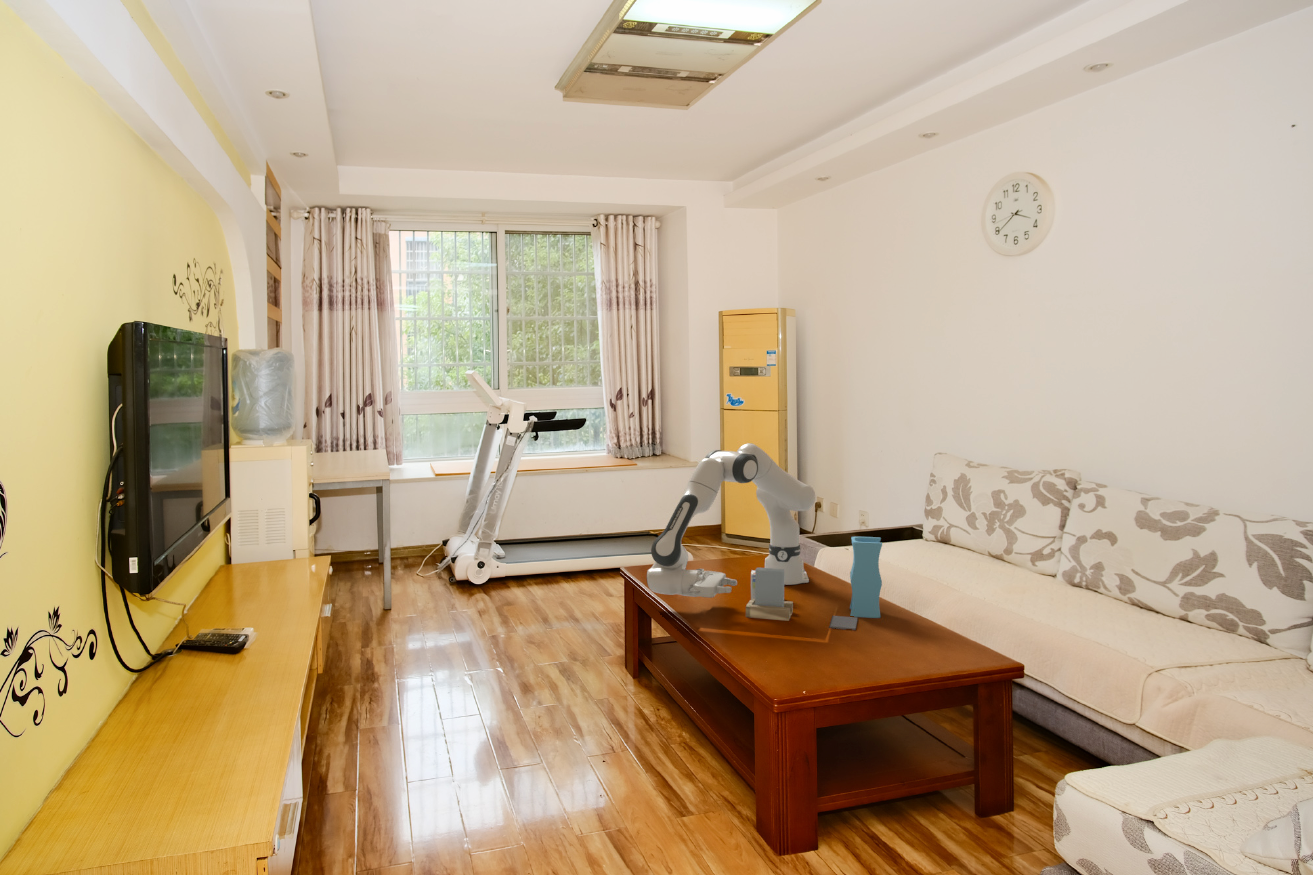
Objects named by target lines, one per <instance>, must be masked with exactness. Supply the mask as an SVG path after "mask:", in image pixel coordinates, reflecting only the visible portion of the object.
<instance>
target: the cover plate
mask: <svg viewBox="0 0 1313 875" xmlns="http://www.w3.org/2000/svg"><path fill="white" fill-rule="evenodd" d="M754 571H755V605H761V606H774V607H784V601H785V585H784V569H772V568H765V567H756V568H755V570H754Z"/></svg>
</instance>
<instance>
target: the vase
mask: <svg viewBox="0 0 1313 875" xmlns="http://www.w3.org/2000/svg"><path fill="white" fill-rule="evenodd" d="M881 540H882V538H881V537H873V536H851V544H852V551H853V552H852V553H853V554H852V556H853V558H852V559H853V560H852V565H851V570H850V574H849V577H850V578H849V579H850V586H851V600H850V605H849V610H850V616H854V617H856V618H869V619H880V618H881V610H880V594H881V590H882V586H883V582H882V577H881V576H882V575H881V572H880V568H879V566H880V565H879V564H880V563H879V560H880V555H881V550H882V547H883V542H881ZM850 616H849V617H850Z"/></svg>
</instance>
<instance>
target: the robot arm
mask: <svg viewBox="0 0 1313 875" xmlns="http://www.w3.org/2000/svg"><path fill="white" fill-rule="evenodd" d="M723 482H727V483H729V482H730V483H739V484H748V483H751V482H752V484H754V485H755V486H756V492H755V494H756V498H757V501H758V502H759V503H760V504H761V505H762V507H763V508H764V511H765V512H766V514H767V518H768V522H769V533H770V534H769V535H770V536H769V537H770V539H769V540H770V541H769V542H770V543H769V546H768V556H766V557H765V559H764V568H772V569H784V586H785V585H790V586H791V585H799V584H805V583H806V584H807V583H809V582H810V581H809V580H810V579H809V577H808V574H807V571H806V570H805V568H804V560H803V558H802V557H801V545H800V524H799V523H798V521H797V520H796V519H795V518H794V517H793V515H792V513H791V511H794V512H805V511H809V510H810V509H812V507H813V506H815V505H814V504H815V503H816V493H815V490H814V488H813V487H812V486H811V485H808V484H806V483H804V482H802V481H801V480H799V479H797V478H796V477H795V476H793V475H791V474H790V473H789V472H787V471H785V470H784V469H783V468H782V467H780V466H779V464H777V462H776V461H775V460H773V459H772V458H771V456H770V455H769V454H768V453H767V452H765V451H764V449H762V448H761V447H760V446H758V445H756V444H754V443H749V442H747V443H745V444H742V445H741V446H740V447H739V448H738V449H737V451H733V450H720V449H718V450H717V449H715V450H711V451H710V452H708V453H707V455H706V456H705V457H704V458H702V459H701V460H700V461H699V463H698V464H697V465H696V467H695V468H694V470H693V472H692V473H691V475H690V477H689V480H688V481H687V483H686V486H685V488H684V491H683V493H682V496H681V498H680V500H679V502H678V503H677V506H676V507H675V509H674V511H673V513H672V515H671V517H670V519H669V521H668V523H667V525H666V526H665V528H664V530H663V531H662V532H661V533H660V535H658V536H657V537H656V538H655V539H654V541H653V542H652V545H651V549H650V551H651V552H650V554H651V556H652V559H653V560H654V561H655V562H654V563H653V564H652V566H651V567H650V568H649V569H647V571H646V583H647V587H648V589H649V590H650V591H651V592H653V593H657V594H660V595H669V596H671V595H672V596H673V595H679V596H684V597H694V598H697V597H700V598H714V597H715V596H716V595H717V594H730V593H731V592H732V587H733V586H734V587H735V586H737V585H738V581H737V579H733V578H729V577H727V576H726V575H727V574H726V573H724V572H720V571H715V570H714V571H712V570H705V569H704V568H696V569H687V565H688V561H689V554H688V551H687V549H686V547H685V546H684V545H682V539H683V537H684V535H685V533H686V530H687V529H688V527H689V525H690V523H691V521H692V519H693V518H694V517H695V516H696V515H698V514H702V513H705V512H708V511H709V510H710V508H711V507H712V506H713V505H714V502H715V500H716V498H717V496H718V493H719V490H720V488H721V484H722V483H723ZM727 585H728V586H727ZM729 585H730V586H729Z"/></svg>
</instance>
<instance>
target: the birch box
mask: <svg viewBox="0 0 1313 875" xmlns="http://www.w3.org/2000/svg"><path fill="white" fill-rule="evenodd" d="M793 607H794V601H789V600H787V601H786V600H784V607H774V606H761V605H755V599H752V598H751V597H750V599H749V601H748V603H746V606H745V618H753V619H764V620H773V621H774V620H775V621H777V620H778V621H790V619H791V617H792V615H793V612H794V608H793Z"/></svg>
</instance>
